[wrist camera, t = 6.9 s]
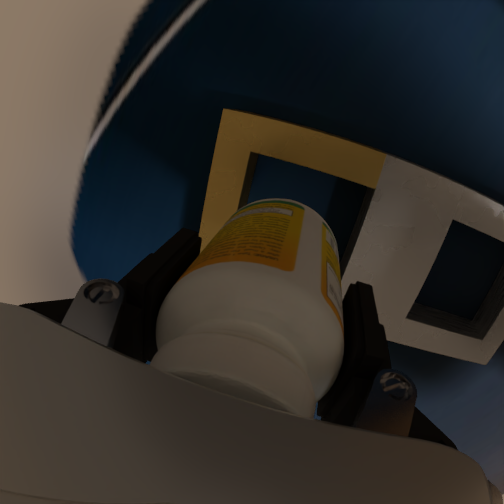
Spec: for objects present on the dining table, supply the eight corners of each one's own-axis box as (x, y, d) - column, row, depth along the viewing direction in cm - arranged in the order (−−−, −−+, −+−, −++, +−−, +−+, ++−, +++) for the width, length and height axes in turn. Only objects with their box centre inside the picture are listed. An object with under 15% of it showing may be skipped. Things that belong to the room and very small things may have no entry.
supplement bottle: (361, 245, 14) (400, 434, 5) (288, 320, 16) (251, 499, 8) (263, 169, 13) (158, 286, 5) (199, 258, 16) (88, 411, 7)
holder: (540, 225, 16) (558, 238, 14) (476, 344, 21) (485, 365, 19) (236, 108, 19) (223, 108, 16) (205, 262, 24) (191, 279, 21)
